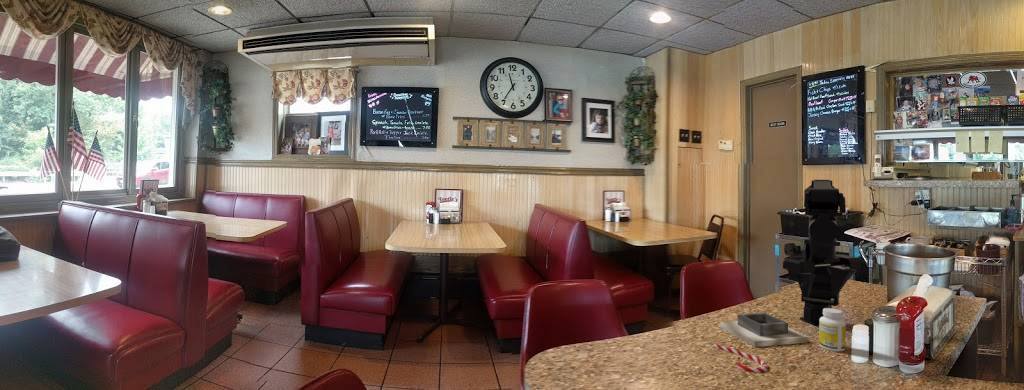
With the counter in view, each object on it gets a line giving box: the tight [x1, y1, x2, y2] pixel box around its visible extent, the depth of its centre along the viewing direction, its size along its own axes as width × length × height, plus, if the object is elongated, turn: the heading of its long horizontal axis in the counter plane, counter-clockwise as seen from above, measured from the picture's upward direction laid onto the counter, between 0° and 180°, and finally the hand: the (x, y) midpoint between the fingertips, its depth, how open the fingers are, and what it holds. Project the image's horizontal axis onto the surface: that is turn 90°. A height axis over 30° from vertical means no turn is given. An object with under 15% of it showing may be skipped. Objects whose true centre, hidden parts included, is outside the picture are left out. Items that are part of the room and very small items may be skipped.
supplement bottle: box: [818, 308, 847, 352], centre depth 108 cm, size 5×5×10 cm
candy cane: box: [712, 343, 769, 374], centre depth 103 cm, size 8×1×15 cm
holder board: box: [719, 312, 809, 348], centre depth 117 cm, size 16×14×4 cm
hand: (820, 296), depth 109 cm, fingers open, 9 cm apart
